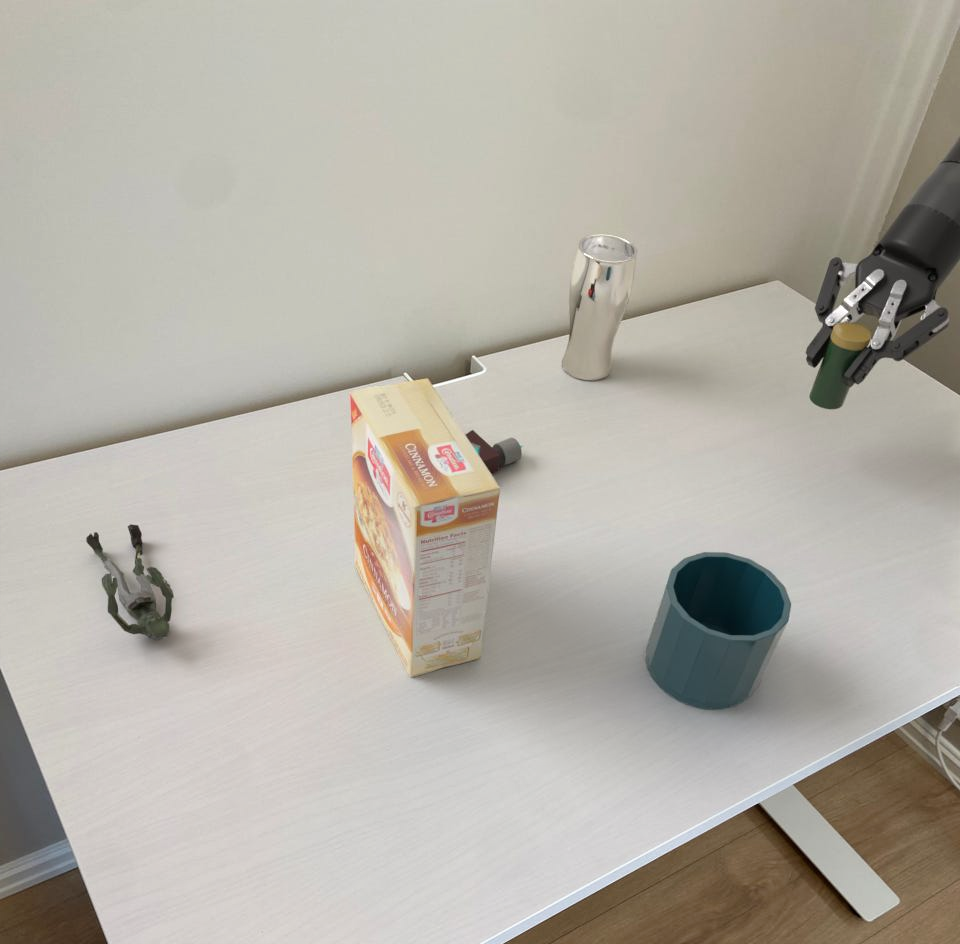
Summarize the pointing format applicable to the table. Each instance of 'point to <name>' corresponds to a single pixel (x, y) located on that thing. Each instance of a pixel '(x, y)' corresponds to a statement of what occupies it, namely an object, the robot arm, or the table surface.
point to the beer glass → (597, 303)
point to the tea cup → (716, 629)
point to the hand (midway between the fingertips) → (828, 372)
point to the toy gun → (495, 451)
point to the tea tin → (838, 364)
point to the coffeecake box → (422, 523)
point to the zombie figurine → (137, 603)
